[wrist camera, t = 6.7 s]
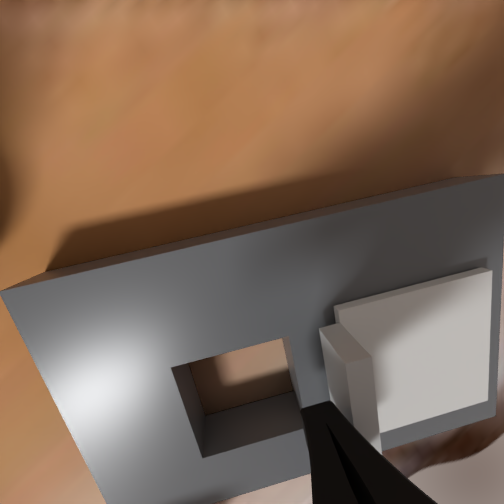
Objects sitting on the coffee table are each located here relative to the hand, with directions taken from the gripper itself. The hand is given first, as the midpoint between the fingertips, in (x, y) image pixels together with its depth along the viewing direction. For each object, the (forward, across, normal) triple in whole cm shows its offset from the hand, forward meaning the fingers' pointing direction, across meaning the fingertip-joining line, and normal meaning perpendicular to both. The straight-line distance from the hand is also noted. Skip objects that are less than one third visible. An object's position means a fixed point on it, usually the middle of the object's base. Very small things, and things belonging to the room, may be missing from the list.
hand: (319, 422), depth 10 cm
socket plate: (+5, 0, -1) cm, 5 cm away
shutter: (+2, -5, 0) cm, 6 cm away
